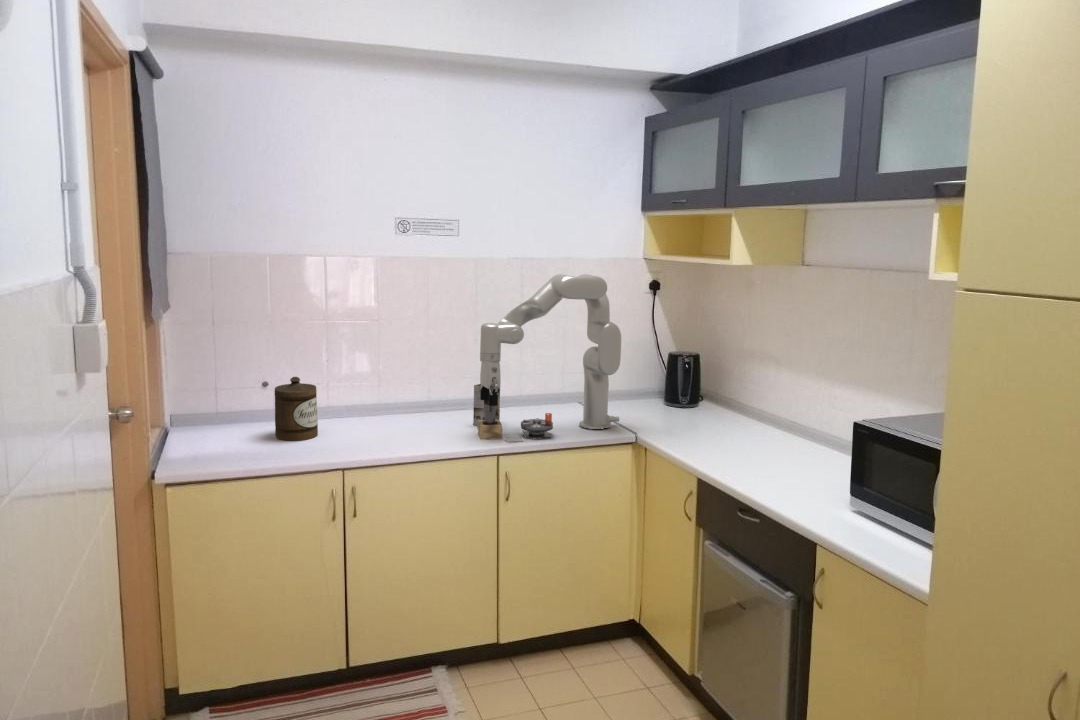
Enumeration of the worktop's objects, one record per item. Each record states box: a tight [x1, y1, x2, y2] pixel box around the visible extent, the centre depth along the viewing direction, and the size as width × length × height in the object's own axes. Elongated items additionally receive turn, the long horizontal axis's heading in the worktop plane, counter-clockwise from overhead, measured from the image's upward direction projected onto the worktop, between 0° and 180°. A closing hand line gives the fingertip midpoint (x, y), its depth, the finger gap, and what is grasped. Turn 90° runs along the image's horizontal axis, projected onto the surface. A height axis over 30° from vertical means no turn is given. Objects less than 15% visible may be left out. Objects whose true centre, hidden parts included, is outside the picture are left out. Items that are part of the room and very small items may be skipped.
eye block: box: [477, 420, 503, 440], centre depth 292 cm, size 8×8×5 cm
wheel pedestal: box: [522, 430, 552, 440], centre depth 295 cm, size 9×9×3 cm
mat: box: [504, 436, 524, 443], centre depth 288 cm, size 6×6×1 cm
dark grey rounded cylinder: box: [485, 403, 496, 425], centre depth 292 cm, size 4×4×12 cm
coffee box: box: [472, 383, 501, 427], centre depth 308 cm, size 9×6×16 cm
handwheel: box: [520, 412, 554, 432], centre depth 294 cm, size 12×12×6 cm
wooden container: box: [274, 376, 319, 442], centre depth 286 cm, size 15×15×22 cm
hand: (488, 402), depth 290 cm, fingers open, 9 cm apart
